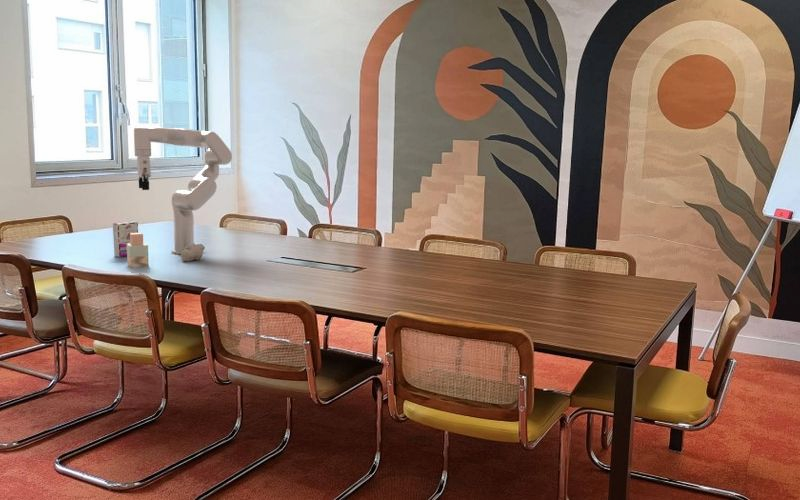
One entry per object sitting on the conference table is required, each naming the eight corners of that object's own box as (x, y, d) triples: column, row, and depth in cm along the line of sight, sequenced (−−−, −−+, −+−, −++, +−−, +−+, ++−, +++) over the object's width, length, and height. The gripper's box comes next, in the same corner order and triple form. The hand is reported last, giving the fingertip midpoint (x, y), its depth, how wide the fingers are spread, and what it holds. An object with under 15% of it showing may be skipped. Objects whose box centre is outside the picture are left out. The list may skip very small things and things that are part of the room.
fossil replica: (175, 261, 373) (194, 265, 370) (175, 245, 371) (194, 248, 368) (189, 255, 384) (207, 259, 381) (189, 239, 382) (208, 242, 379)
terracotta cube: (141, 243, 362) (141, 232, 361) (143, 244, 358) (143, 234, 357) (130, 243, 360) (130, 233, 359) (131, 245, 355) (131, 234, 355)
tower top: (144, 253, 365) (144, 242, 364) (148, 255, 358) (148, 245, 357) (126, 254, 361) (126, 243, 360) (130, 257, 354) (129, 246, 353)
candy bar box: (133, 253, 391) (132, 221, 388) (139, 254, 388) (138, 221, 385) (113, 256, 382) (112, 223, 379) (119, 257, 379) (118, 224, 376)
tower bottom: (145, 263, 366) (145, 253, 365) (148, 266, 359) (148, 255, 358) (127, 264, 362) (127, 254, 361) (130, 267, 355) (130, 256, 354)
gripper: (154, 154, 367) (155, 190, 370) (148, 152, 382) (149, 187, 385) (137, 154, 364) (138, 190, 367) (132, 152, 379) (133, 187, 382)
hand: (144, 189), depth 376 cm, fingers open, 9 cm apart
